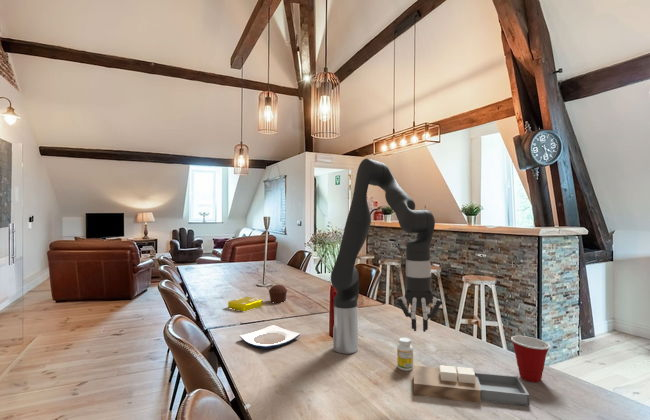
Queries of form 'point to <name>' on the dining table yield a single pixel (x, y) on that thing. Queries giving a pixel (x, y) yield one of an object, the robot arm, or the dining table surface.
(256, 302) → the element tile
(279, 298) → the muffin
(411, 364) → the supplement bottle
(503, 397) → the tray
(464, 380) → the tile
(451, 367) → the tile
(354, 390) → the dining table surface
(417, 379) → the board
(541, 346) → the plastic cup
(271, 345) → the plate
